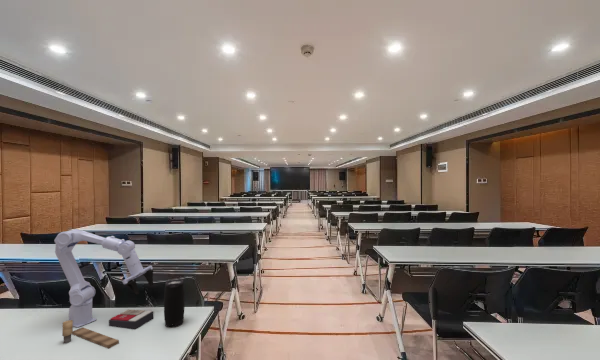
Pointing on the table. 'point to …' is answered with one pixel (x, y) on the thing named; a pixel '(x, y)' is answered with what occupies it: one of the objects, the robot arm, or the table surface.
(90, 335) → the board
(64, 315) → the table surface
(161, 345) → the table surface
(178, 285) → the portable speaker
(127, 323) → the calculator
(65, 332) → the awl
